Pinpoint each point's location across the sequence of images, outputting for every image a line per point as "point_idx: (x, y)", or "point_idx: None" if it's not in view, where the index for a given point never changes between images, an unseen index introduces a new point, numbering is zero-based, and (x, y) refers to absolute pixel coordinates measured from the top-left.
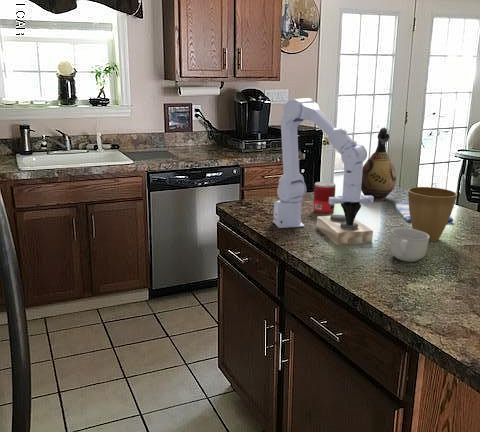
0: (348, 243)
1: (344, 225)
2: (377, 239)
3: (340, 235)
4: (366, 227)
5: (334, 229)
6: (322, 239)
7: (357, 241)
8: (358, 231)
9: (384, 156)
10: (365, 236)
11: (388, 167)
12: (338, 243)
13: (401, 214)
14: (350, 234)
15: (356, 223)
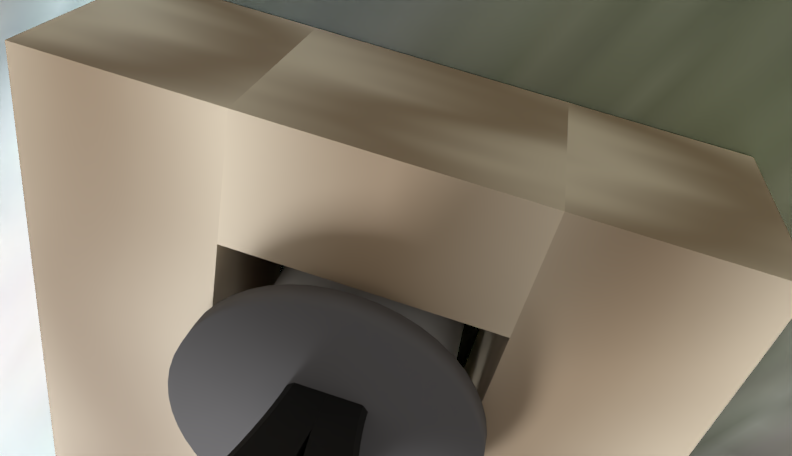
0: (547, 101)
1: (451, 438)
2: None
3: (731, 227)
4: (56, 250)
5: (679, 439)
6: (731, 409)
7: (386, 61)
8: (319, 145)
9: None
10: (214, 47)
11: None
12: (728, 159)
13: None
14: (508, 168)
15: (173, 403)
